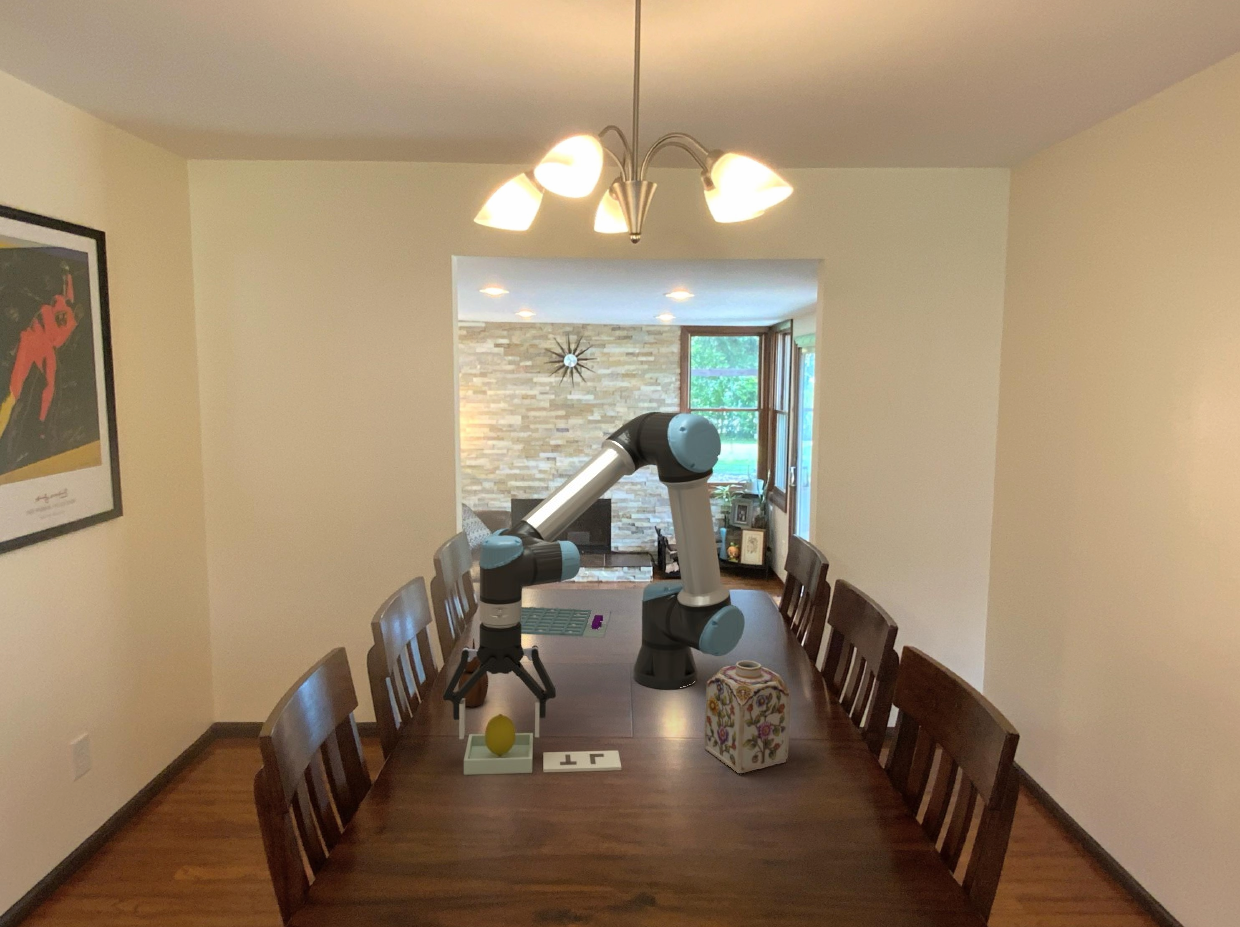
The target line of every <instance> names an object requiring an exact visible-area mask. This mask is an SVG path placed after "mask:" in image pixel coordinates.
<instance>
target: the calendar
mask: <svg viewBox="0 0 1240 927" xmlns="http://www.w3.org/2000/svg"><path fill="white" fill-rule="evenodd" d="M581 609H582V608H578V609H577V608H576V609H575V608H572V609H571V608H570V607H569V608H561V607H555V608H553V607H544V606H540V607H536V606H529V607H528V606H522V619H521V620H520V621H519V622H520V623H521V635H537V636H554V637H555V636H557V637H558V636H559V637H560V636H561V637H575V638H577V637H578V636H579V637H583V638H598V637H604V638H605V635H606V632H605V631H607V628H608V625H606V624H602V622H600V621H603V615H595V616H594V619H593V621H592V625H590V624H587V623H588V619H589V617H590V614H591V611H592V610H593V609H586V610H581ZM581 612H588V613H581ZM574 615H576V616H574ZM580 615H587V616H580ZM579 618H585V619H579ZM606 623H608V624H609V622H606ZM605 626H607V627H605ZM599 627H600V628H603V629H598V628H599ZM591 628H592V629H591ZM596 629H597V630H596ZM599 631H600V632H599ZM599 633H604V634H605V635H604V634H599Z"/></svg>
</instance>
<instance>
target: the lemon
mask: <svg viewBox="0 0 1240 927" xmlns="http://www.w3.org/2000/svg"><path fill="white" fill-rule="evenodd" d="M515 733H516V728H515V724H514V722H513V720H512V719H511V718H509V717H508V716H506V715H504V714H500V713H499V714H498V715H496V716H494V717H492V718H491V719H490V720H488V722H487V725H486V728H485V732H484V734H485V742H486V745H487V748H488V749H489V750H490V751H491V752H492V753H494V754H497V755H498V756H502V755H503V754H505V753H507V752H508V751H509V750H510V749H511V748H512V747H513V745H514V742H515Z"/></svg>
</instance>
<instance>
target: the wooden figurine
mask: <svg viewBox="0 0 1240 927" xmlns="http://www.w3.org/2000/svg"><path fill="white" fill-rule="evenodd" d="M471 649H476V644H475V638H472V648H471ZM480 664H481V662H480V661H479V659H478V658H477V656H476V657H473V659H472V661H470V662H467V665H466V668H465V670H464V671H463V673H462V675H461V677H460V679H459V681H458V683H457V685H458V688H457V691H458V690H459V689H460V687H461V686H462V685H463V684H464V683H465V682H466V681H467V679H468V678H469V677H470V676H471V675H472V674H473V673H474V672H475V670H476V669H477V668H478V666H479V665H480ZM488 689H489V676H488V671H487V672H486V673H485V674H484V676H483V677H481V678H480V679H479V680H478V682H477V683H476V684H475V685H474V686H473V687H472V688H471V690H470V691H469V692H468V693H467V694H466V695H465V696H464V698H463V699H465V707H466V706H467V707H471V708H472V707H473V708H474V707H477V706H480V705H481V704H483V703H484V702H485V700H486V698H487V694H488Z"/></svg>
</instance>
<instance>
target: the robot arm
mask: <svg viewBox="0 0 1240 927" xmlns="http://www.w3.org/2000/svg"><path fill="white" fill-rule="evenodd" d="M721 442H722V441H721V437H720V434H719V431H718V429H717V428H716V426H715V424H714V423H713V422H712V421H710V420H709V419H708V418H706V417H704V416H703V415H699V414H693V413H688V412H661V411H650V412H649V411H648V412H645V413H643V414H641V415H638V416H636V417H634V418H633V419H631V420H628V422H626V423H625V424H623V425H622V426H621V427H619V428H618V429H616V430H615V431H614V432H613V433H611V434H610V435H609V436H608V437H607V438H605V440H603V442H602V443H601V446H600V447H601V448H600V450H599V451H598V452H597V453H596V454H595V455H593V456H592V457H591V458H590V459H588V461H586V462H585V463H584V464H583V465H582V466H581V467H580V468H578V469H577V470H576V471H575V472H574V473H573V474H572V475H571V476H570V477H569V478H567V479H566V480H565V481H564V482H563V483H561V484H560V485H559V486H557V488H556V489H554V490H553V491H552V492H551V493H550V494H549V495H548V496H547V497H545V498H544V499H543V500H541V502H540V503H539V504H537V506H535V507H534V508H533V509H531V511H530V512H528V513H527V514H526V515H525V516H524V517H522V519H520V520H518V522H517V523H516V524H515V525H514V526H512V527H511V528H500V529H498V530H496V531H494V532H492V534H491V535H490V536H488V537H485V538H484V539H483V540H482V542H481V543H480V550H479V560H478V561H479V562H478V565H479V566H478V567H479V621H480V622H481V623H480V624H479V645H478V648H477V649H476V648H475V649H472V648H470V647H469V646H466V645H465V646H463V648H462V652H461V656H460V661H459V663H458V664H457V667H456V669H455V671H454V672H453V675H451V678H450V680H449V682H448V684H447V686H446V688H445V690H444V692H443V696H442V699H443V701H445V702H446V701H449V702H451V703H452V708H453V710H452V717H453V720H454V721H457V720H458V721H459V727H458V728H459V730H458V732H459V733H458V734H459V736H458V737H459V738H458V739H459V740H464V738H465V735H466V705H465V699H463V698H464V696H465V695H466V694H467V693H468V692H469V691H470V690H471V688H472V687H473V686H474V685H475V684H476V683H477V682H478V680H479V679H480V678H481V677H483V676H484V674H485V673H486V672H487V673H490V674H491V675H495V674H496V675H497V674H505V675H509V673H512V672H513V674H514V675H515V676H516V677H518V678H519V679H520V680H521V681H522V682H523V684H524V685H526V687H527V688H528V689H529V691H530V692H531V693H532V694H533V695H534V696H535V706H534V710H535V712H534V714H535V716H534V717H535V718H534V720H535V721H534V738H540V719H545V718H546V714H547V712H546V711H547V709H546V708H547V701H549V700H550V699H555V698H556V696H557V694H556V693H557V690H556V686H555V685H554V683H553V682H552V680H551V677H550V676H549V674H548V672H547V670H546V668H545V666H544V664H543V662H542V660H541V658H540V654H539V653H540V652H539V646H537V645H533V646H531V647H530V648H529V647H528V648H523V646H522V645H523V644H522V634H521V623H520V622H519V621H520V620H521V619H522V607H523V606H522V604H523V603H522V602H523V595H522V594H523V588H525V587H532V586H541V585H547V584H553V583H562V582H565V581H568V580H569V581H570V580H572V579H574V578H575V577H577V575H578V574H579V572H580V569H581V555H580V552H579V549H578V546H576V545H575V544H574V543H573V542H572V541H570V540H558V539H557V540H556V541H554V540H555V539H556V538H558V536H559V535H560V534H562V533H564V531H565V530H566V529H567V528H569V526H570V525H571V524H573V523H574V522H575V521H576V520H578V518H579V517H580V516H581V515H583V513H585V512H586V511H587V510H588V509H589V508H590V507H591V506H592V505H593V504H594V503H596V502H597V501H598V500H599V499H601V497H603V495H605V494H606V493H607V492H608V491H609V490H611V488H612V487H613V486H614V485H616V483H618V482H619V481H620V480H621V479H622V478H623V477H624V476H626V477H627V476H628V477H629V476H632V475H633V474H634V473H635V472H637V471H638V470H639V469H641V468H644V467H647V466H656V468H657V476H658V480H659V482H660V483H661V484H663V485H664V486H665V487H666V488H667V494H668V500H669V506H670V513H671V520H672V526H673V527H672V528H673V533H674V541H675V546H676V553H677V560H678V566H679V572H680V579H681V580H664V581H663V580H662V581H656V582H651V583H649V584H647V585H646V586H645V587H644V588H643V591H642V592H643V593H642V600H641V646H640V649H639V651H638V654H637V657H636V660H635V662H634V666H633V679H634V680H635V682H637V683H639V684H640V685H642V686H646V687H649V688H653V689H659V690H675V689H674V688H679V689H681V688H680V687H683V686H687V685H689V684H692V683H693V682H694V681H695V680H696V678H697V679H698V669H697V666H696V665H697V664H696V661H695V659H694V655H693V651H692V648H693V649H694V650H697V651H700V652H702V653H703V654H705V655H711V656H714V657H722V656H726V655H728V654H730V652H732V651H733V650H734V649H735V648H736V646H737V645H738V644H739V641H740V640H741V639H742V637H743V633H744V631H745V620H746V619H745V615H744V612H743V611H742V610H741V609H740V608H739V607H738V606H737V605H733V604H732V599H731V592H730V588H728V586H727V585H724V584H723V583H722V578H721V571H720V563H719V557H718V549H717V543H716V542H717V540H716V535H715V534H716V533H715V528H714V527H715V526H714V520H713V512H712V506H711V500H710V492H709V485H708V481H709V480H710V478H711V477H712V476H713V475H714V470H713V468H714V467H715V466H716V465H717V463H718V461H719V457H718V456H720V455H721V451H722V443H721ZM476 656H477V658H478V659H479V661H480V662H481V664H480V665H479V666H478V668H477V669H476V670H475V672H474V673H473V674H472V675H471V676H470V677H469V678H468V679H467V681H466V682H465V683H464V684H463V685H462V686H461V687H460V689H459V690H458V689H457V691H454V690H455V688H456V687H457V685H458V684H459V680H460V677H461V675H462V673H463V672H464V670H465V668H466V665H467V662H470V661H472V659H473V657H476ZM524 657H526V658H527V660H528V661H532V665H533V667H534V670H535V671H536V672H537V675H538V677H539V679H540V681H541V683H542V685H543V687H544V688H545V689H543V687H541V685H540V684H539V683H538V682H537V681H536V680H535V679H534V677H533V676H532V675H531V674H530V672H528V670H527V669H526V668H525V667H524V664H522V663H521V660H523V659H524ZM696 681H697V680H696ZM692 685H693V684H692Z"/></svg>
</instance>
